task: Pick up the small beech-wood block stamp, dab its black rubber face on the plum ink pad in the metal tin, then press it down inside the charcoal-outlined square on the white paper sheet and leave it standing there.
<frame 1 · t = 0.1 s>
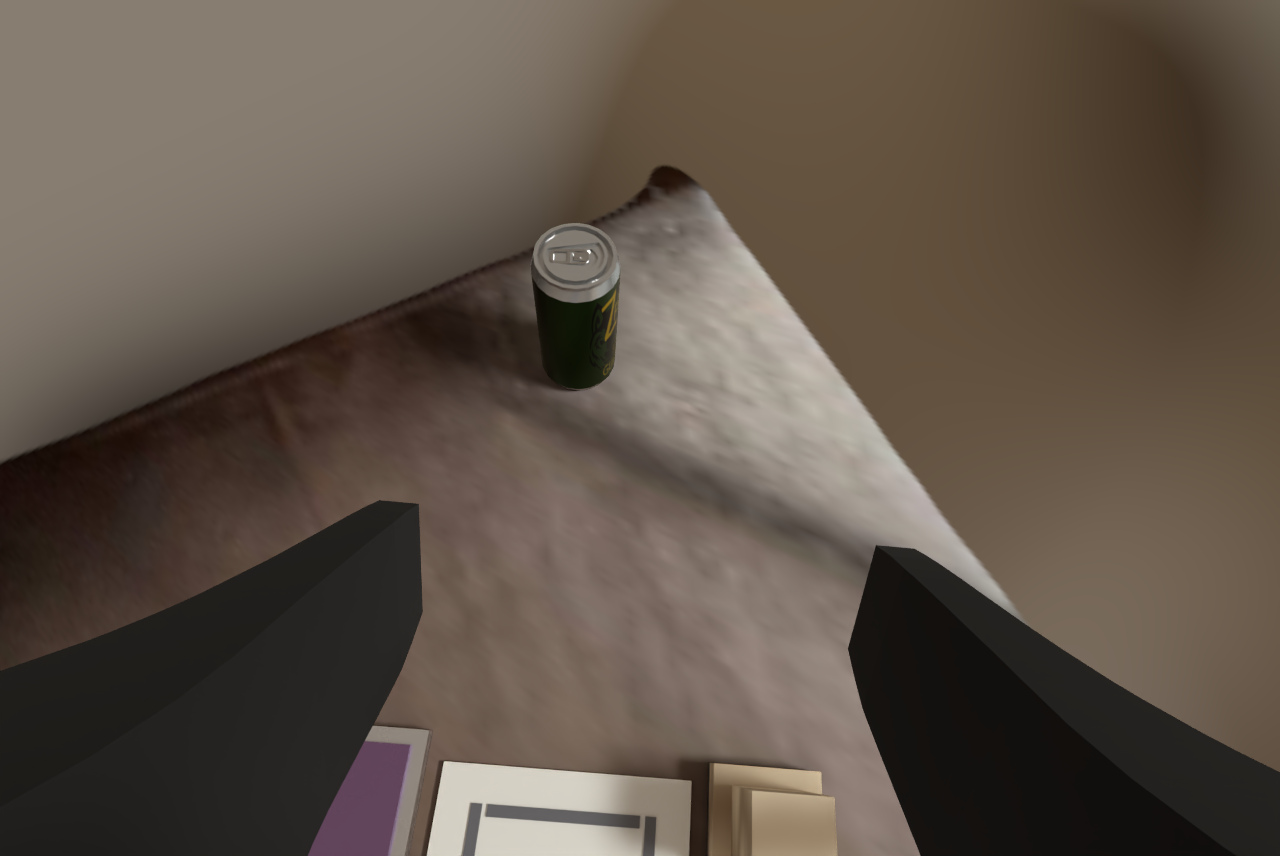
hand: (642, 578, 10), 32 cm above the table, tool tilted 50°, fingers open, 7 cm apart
ink pad: (326, 836, 35), on the table
wooden stamp: (759, 826, 37), on the table
beer can: (578, 364, 49), on the table
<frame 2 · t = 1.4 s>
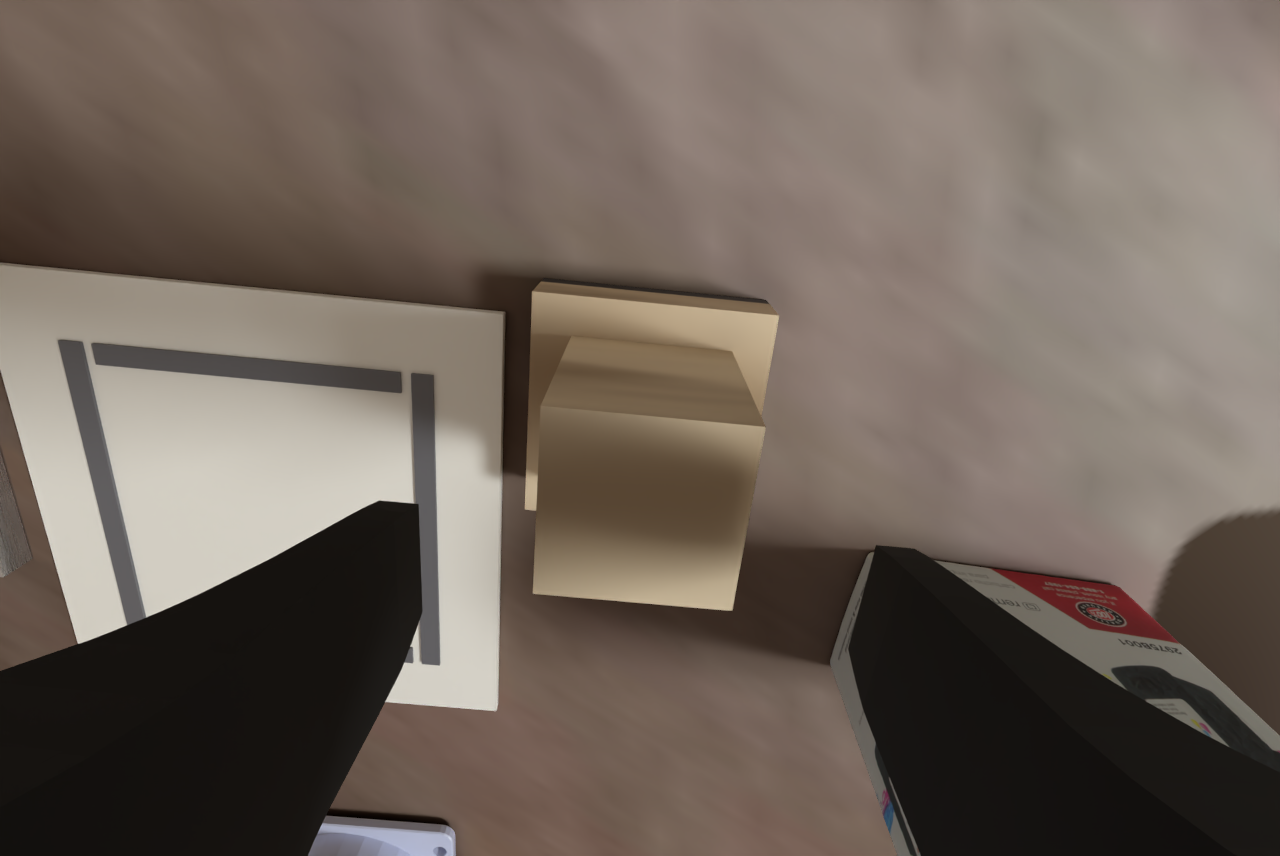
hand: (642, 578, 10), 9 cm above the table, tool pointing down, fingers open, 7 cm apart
paper sheet: (275, 513, 20), on the table
wooden stamp: (644, 393, 19), on the table
ink box: (967, 622, 22), on the table
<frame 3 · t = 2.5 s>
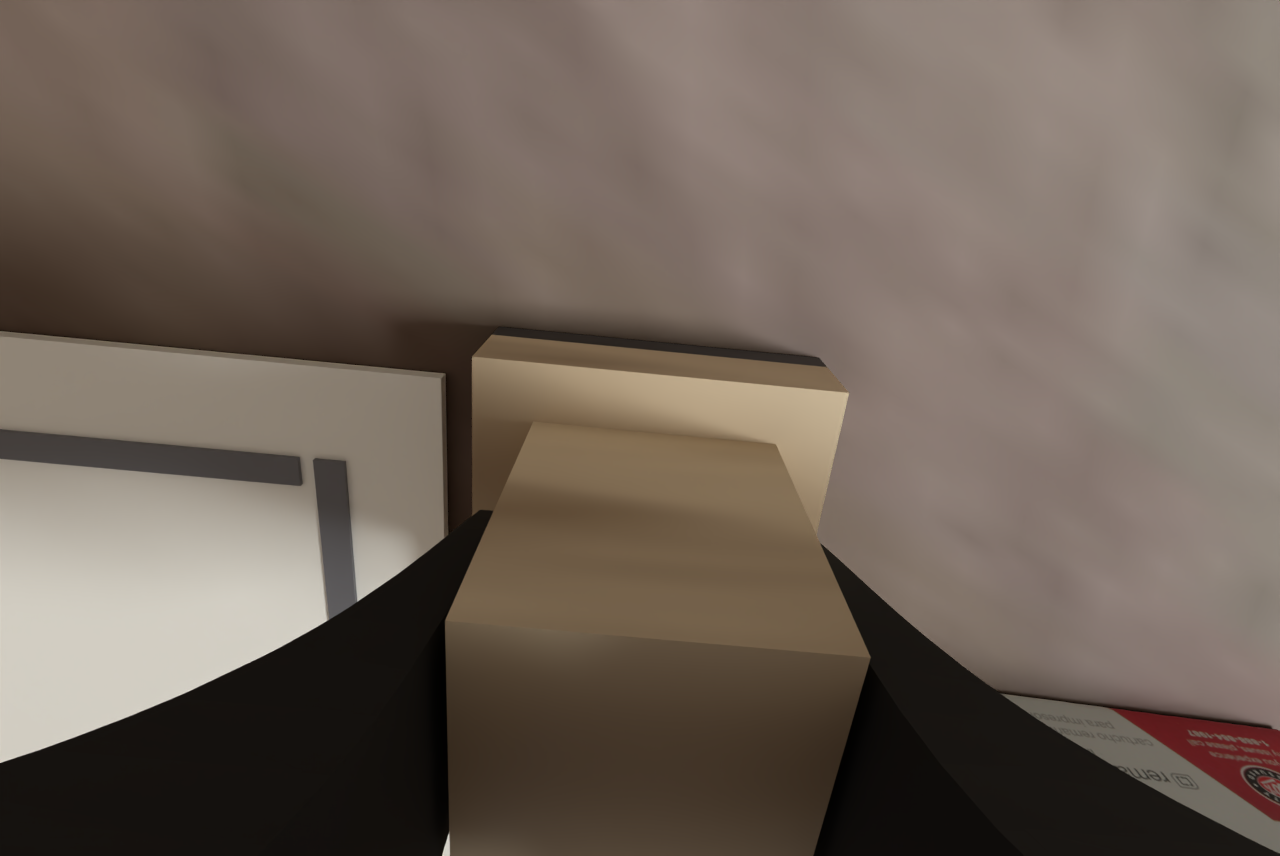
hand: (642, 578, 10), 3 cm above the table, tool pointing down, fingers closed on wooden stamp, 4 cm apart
paper sheet: (143, 636, 15), on the table
wooden stamp: (644, 485, 13), on the table, touching gripper
ink box: (1071, 769, 16), on the table
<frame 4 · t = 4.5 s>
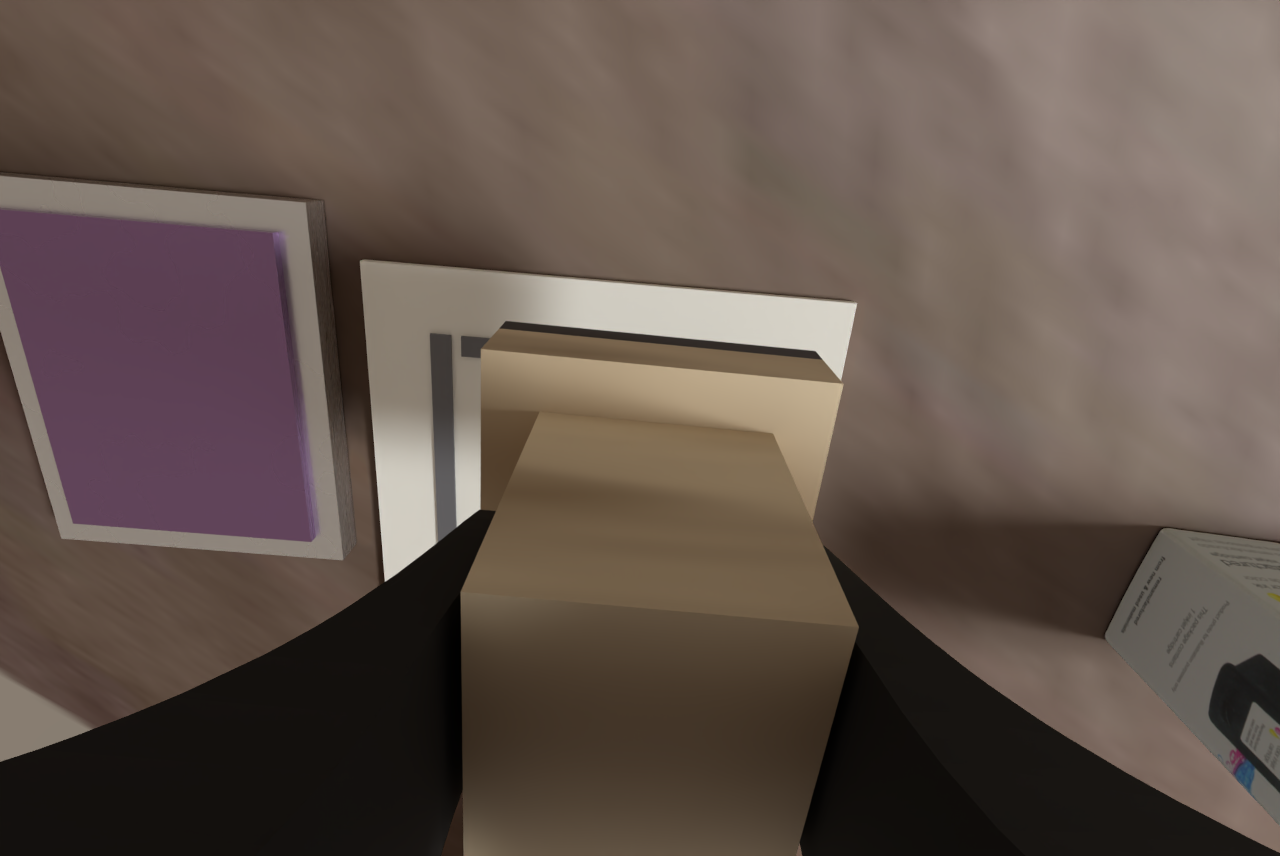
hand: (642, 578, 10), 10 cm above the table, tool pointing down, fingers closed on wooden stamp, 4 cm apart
ink pad: (192, 377, 20), on the table
paper sheet: (596, 496, 21), on the table
wooden stamp: (646, 474, 14), point 6 cm above the table, touching gripper
ink box: (1240, 595, 23), on the table
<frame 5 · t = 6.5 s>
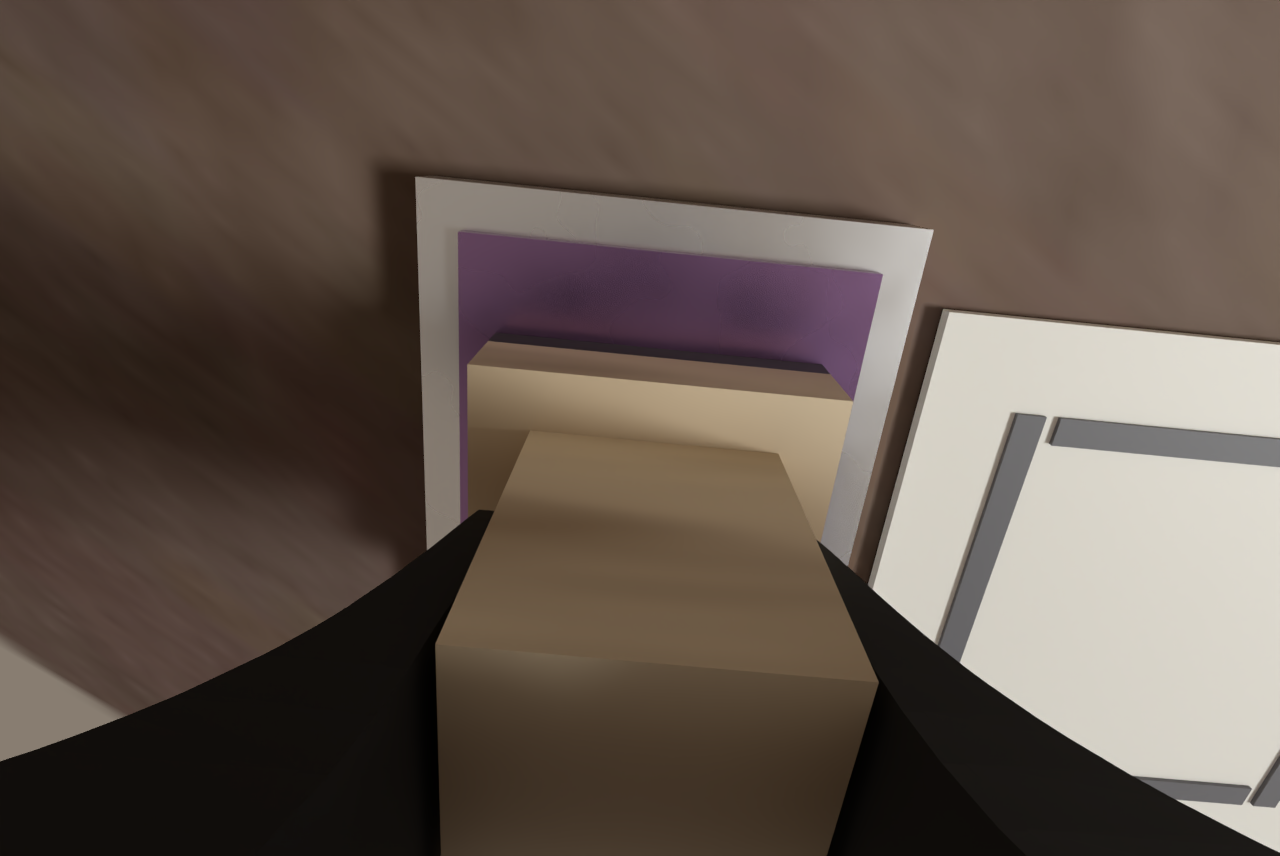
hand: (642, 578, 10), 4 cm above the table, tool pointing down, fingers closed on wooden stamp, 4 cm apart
ink pad: (645, 465, 14), on the table
paper sheet: (1151, 626, 16), on the table
wooden stamp: (643, 493, 13), point 1 cm above the table, touching gripper, ink pad
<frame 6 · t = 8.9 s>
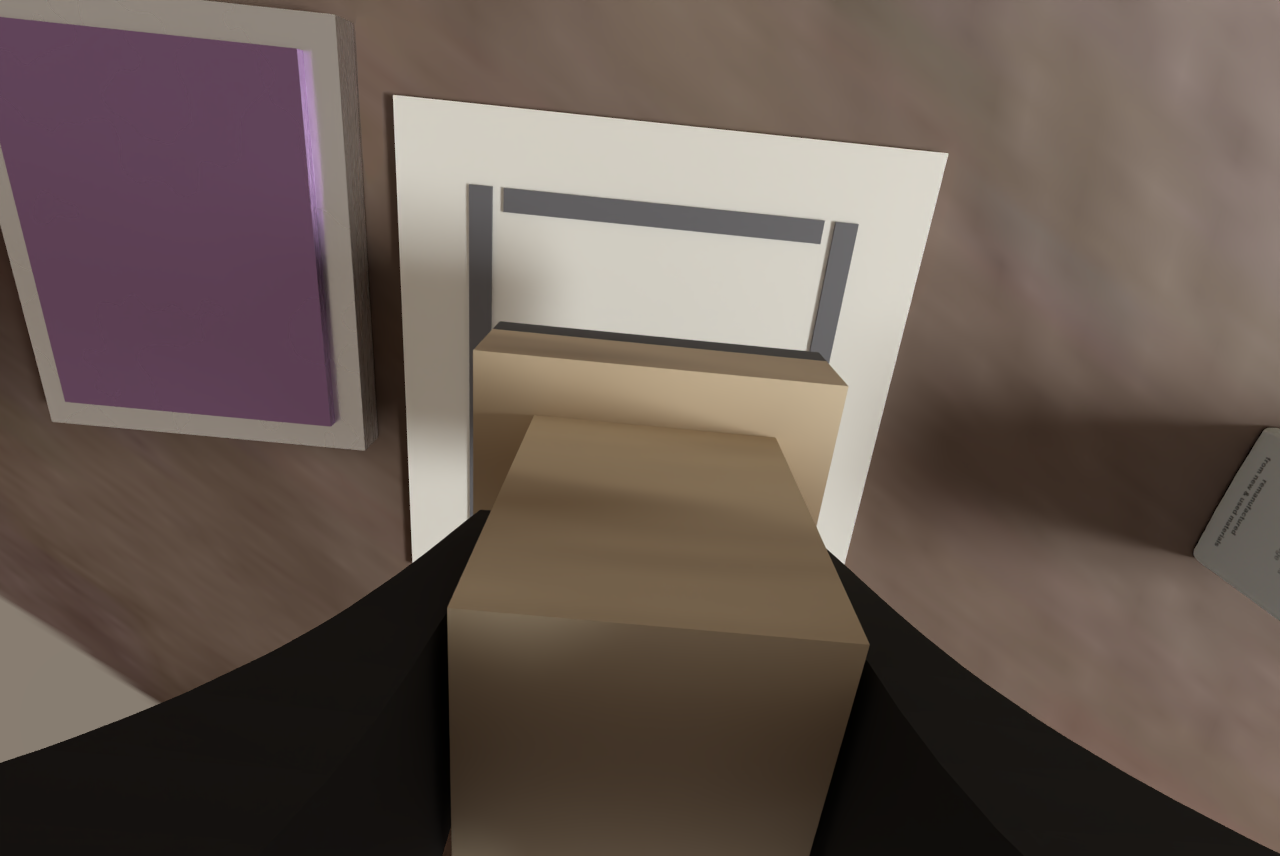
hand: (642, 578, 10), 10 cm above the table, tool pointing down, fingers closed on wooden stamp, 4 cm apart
ink pad: (201, 237, 18), on the table
paper sheet: (645, 384, 19), on the table
wooden stamp: (644, 479, 13), point 6 cm above the table, touching gripper
when the fingers open (3 cm above the table, at t = 10.7 s): wooden stamp stays where it is, resting on paper sheet.
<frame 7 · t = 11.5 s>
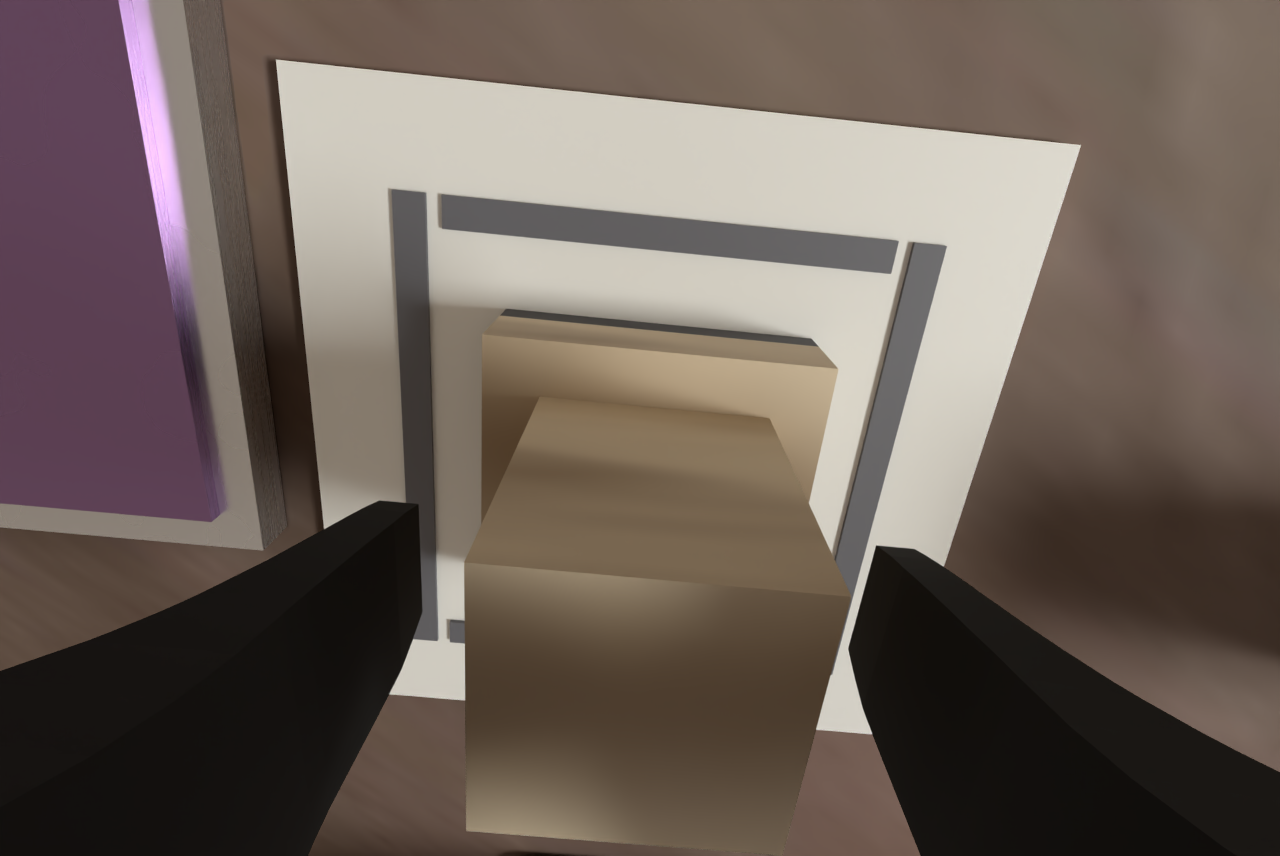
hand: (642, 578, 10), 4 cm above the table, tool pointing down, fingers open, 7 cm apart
ink pad: (24, 263, 13), on the table
paper sheet: (644, 460, 14), on the table
wooden stamp: (644, 461, 14), resting on paper sheet
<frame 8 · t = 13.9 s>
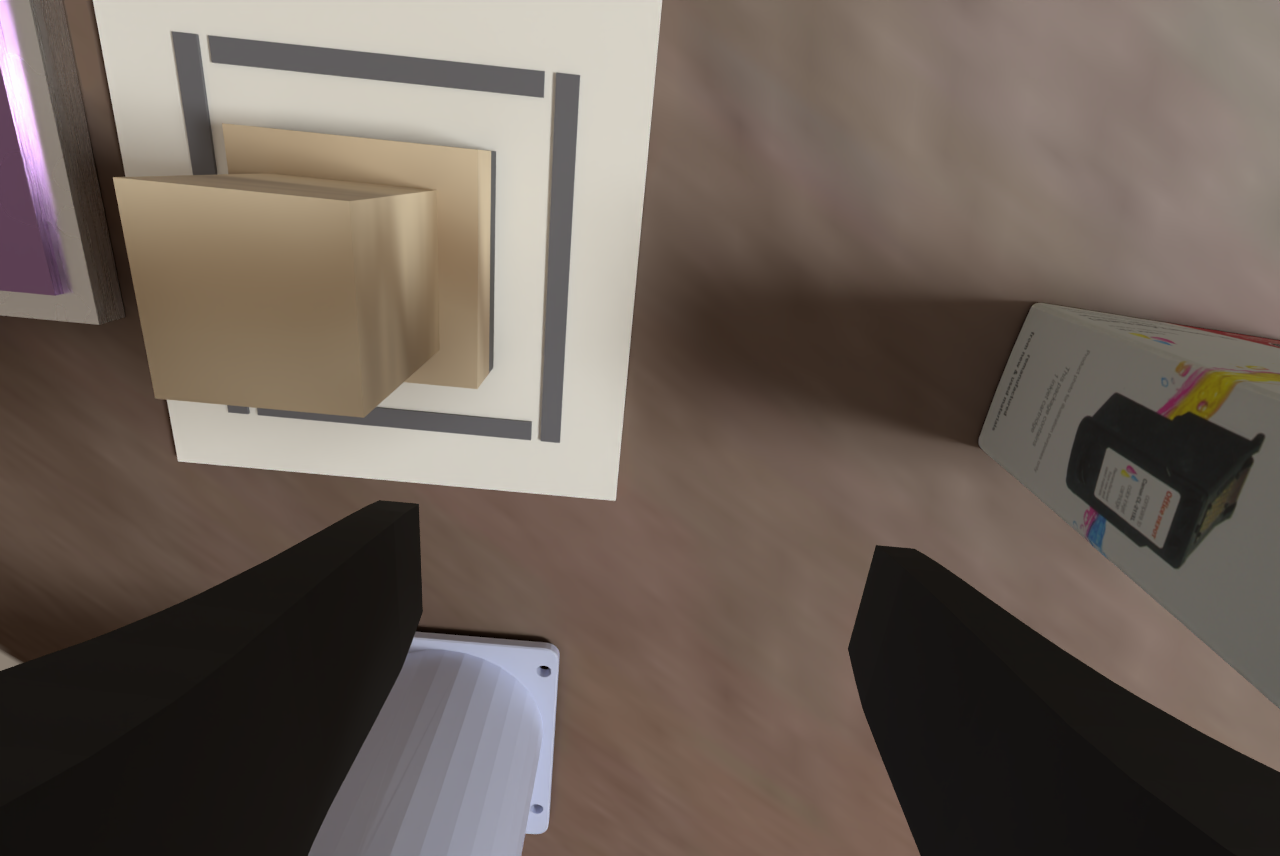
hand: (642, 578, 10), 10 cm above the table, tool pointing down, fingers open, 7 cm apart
paper sheet: (392, 258, 19), on the table
wooden stamp: (387, 255, 18), resting on paper sheet
ink box: (1127, 395, 20), on the table
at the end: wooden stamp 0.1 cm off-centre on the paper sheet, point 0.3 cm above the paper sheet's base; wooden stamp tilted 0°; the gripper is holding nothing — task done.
